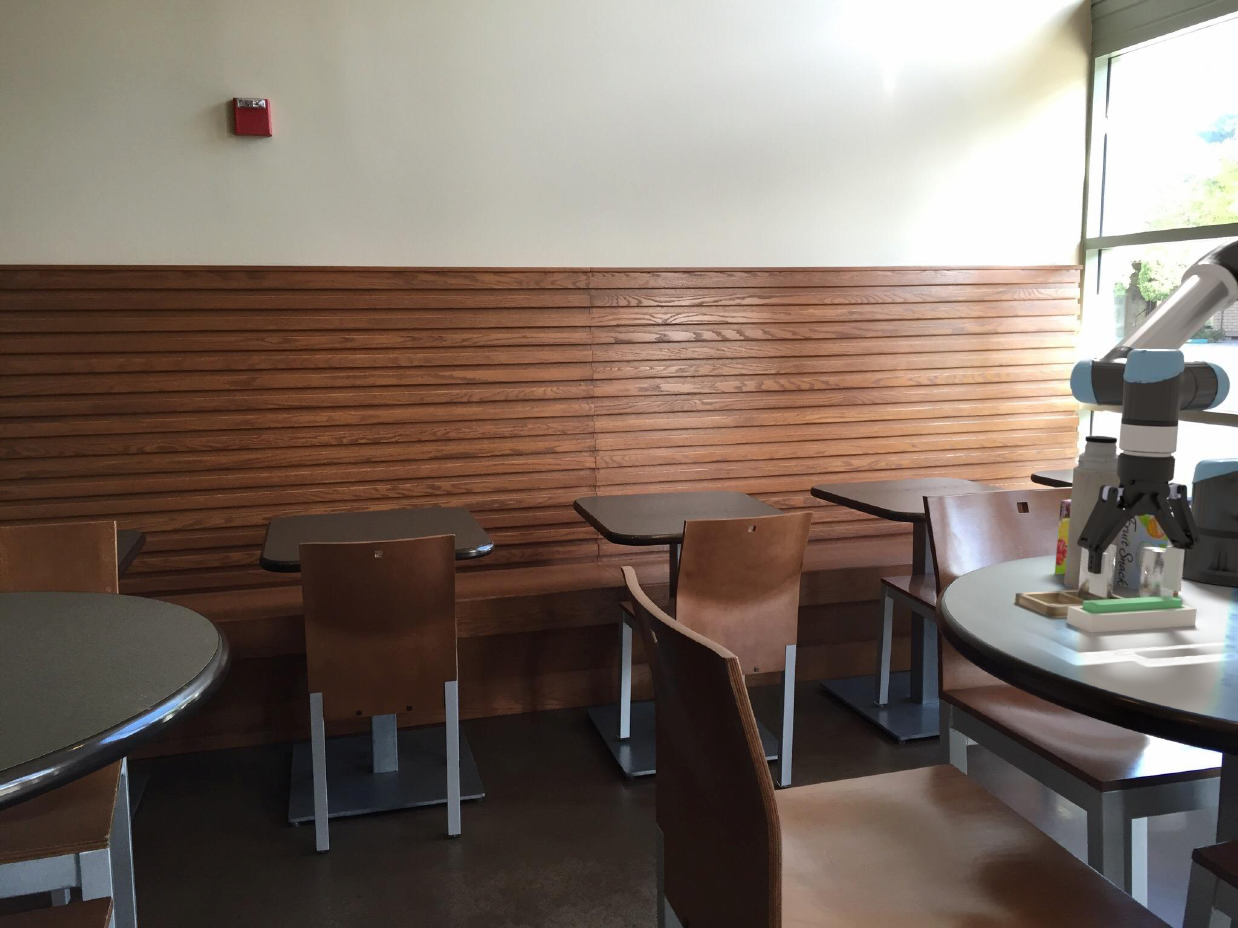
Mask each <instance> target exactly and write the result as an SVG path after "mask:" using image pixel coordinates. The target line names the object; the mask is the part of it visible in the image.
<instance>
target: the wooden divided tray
mask: <svg viewBox="0 0 1238 928" xmlns="http://www.w3.org/2000/svg"><path fill="white" fill-rule="evenodd" d="M1112 599H1125V597H1122V596H1120V595H1117V594H1115V593H1113V594H1112ZM1083 601H1086V600H1084V599H1081V598H1078V590H1077V589H1067V590H1065V589H1064V590H1052V591H1050V590H1049V591H1048V590H1047V591H1031V592H1015V597H1014V600H1012V602H1013V603H1016V604H1018V605H1021V606H1023V607H1025V608H1028V609H1030V610H1033V611H1035V612H1038V613H1041V614H1042V615H1045V616H1047V617H1050V618H1052V619H1063V618H1066V619H1067V613H1068V607H1069V606H1083Z"/></svg>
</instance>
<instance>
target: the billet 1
mask: <svg viewBox="0 0 1238 928" xmlns="http://www.w3.org/2000/svg"><path fill="white" fill-rule="evenodd" d="M1099 544H1100V543H1099ZM1116 550H1117V547H1116V546H1115V545H1111V544H1110V545H1109V547H1108V548H1107V549H1106V551H1105V553H1108V554H1110V556H1109V569H1108V581H1107V594H1106V597H1101V596H1098V595H1095V594H1092V593H1090V592H1089V584H1090V572H1088V557H1089V551H1088V550H1087V549H1085V548H1083V547H1082V553H1081V565H1080V576H1079V588H1078V598H1081V599H1084V600H1086V601H1091V600H1108V599H1112V594H1114V593H1113V592H1114V591H1113V583H1114V572H1115V561H1116Z"/></svg>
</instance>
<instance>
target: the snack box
mask: <svg viewBox="0 0 1238 928" xmlns="http://www.w3.org/2000/svg"><path fill="white" fill-rule="evenodd" d="M1070 506H1071V498H1069V499H1062V500H1061V501H1060V506H1059V507H1060V508H1059V521H1058V530H1057V540H1056V541H1057V543H1056V554H1055V565H1054V575H1065V567H1066V556H1067V548H1068V531H1069V518H1070ZM1123 509H1124V508H1123ZM1124 510H1125V509H1124ZM1172 515H1173V513H1172ZM1173 517H1174V516H1173ZM1166 546H1173V545H1172V544H1171V542H1170V541H1169V539H1168V538H1167V536H1166V534H1165V533H1164V531H1163V530H1162V528H1161V527H1160V525H1159V524H1158V522H1157V520H1156V519H1155V517H1154V516H1153V515H1147V514H1146V515H1143V516H1135V517H1134V518H1133V519H1130V520H1129V521H1128V522H1127V523H1126V525H1125V526H1124V527H1123V529H1122V530H1121V531H1120V532H1119V535H1118V553H1117V564H1116V575H1115V585H1116V586H1119V587H1124V588H1127V589H1132V590H1135V591H1136V590H1137V591H1138V585H1139V574H1140V564H1141V553H1142V548H1143V547H1159V548H1166ZM1174 594H1175V595H1177V596H1178V595H1179V591H1178V592H1177V591H1174V592H1173V595H1174Z"/></svg>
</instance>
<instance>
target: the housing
mask: <svg viewBox="0 0 1238 928" xmlns="http://www.w3.org/2000/svg"><path fill="white" fill-rule="evenodd" d="M1082 609H1083V606H1069V607H1068V613H1067V618H1066V623H1067V624H1069V625H1071V626H1073V627H1076V628H1078V629H1080V630H1083V631H1086V632H1089V633H1101V632H1102V633H1103V632H1105V633H1106V632H1119V631H1130V630H1131V631H1133V630H1146V629H1147V630H1148V629H1149V630H1150V629H1161V628H1174V627H1175V628H1177V627H1191V626H1196V621H1197V620H1196V619H1197V608H1194V607H1192V606H1189V605H1186V604H1183V603H1182V608H1172V609H1156V610H1140V611H1124V612H1108V613H1090V612H1088V611H1085V610H1082Z"/></svg>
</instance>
